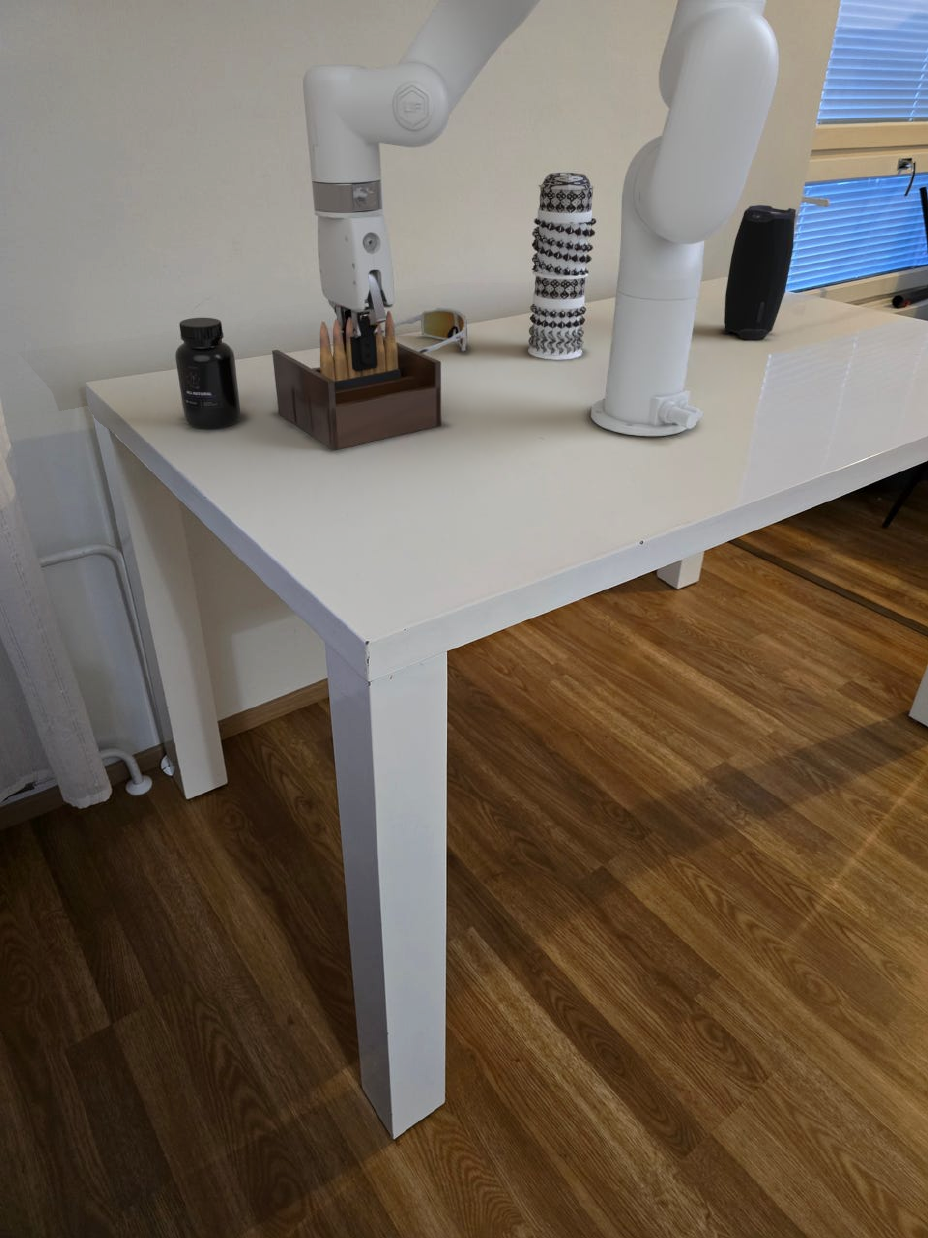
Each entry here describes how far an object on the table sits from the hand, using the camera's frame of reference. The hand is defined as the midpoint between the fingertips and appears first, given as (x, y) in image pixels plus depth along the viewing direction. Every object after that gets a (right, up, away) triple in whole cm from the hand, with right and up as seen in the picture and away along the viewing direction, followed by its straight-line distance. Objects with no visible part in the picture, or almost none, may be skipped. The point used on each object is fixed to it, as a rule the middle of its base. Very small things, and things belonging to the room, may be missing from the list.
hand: (360, 365), depth 103 cm
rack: (-1, -6, +4) cm, 7 cm away
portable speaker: (+61, +18, +42) cm, 76 cm away
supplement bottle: (-19, -6, +3) cm, 20 cm away
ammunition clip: (0, -5, +3) cm, 6 cm away
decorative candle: (+27, +11, +31) cm, 43 cm away
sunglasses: (+6, +12, +32) cm, 34 cm away
